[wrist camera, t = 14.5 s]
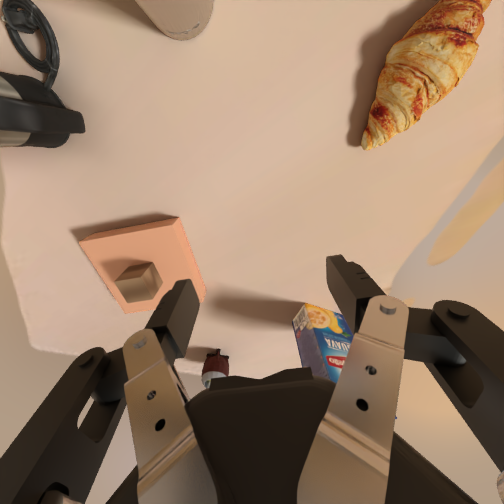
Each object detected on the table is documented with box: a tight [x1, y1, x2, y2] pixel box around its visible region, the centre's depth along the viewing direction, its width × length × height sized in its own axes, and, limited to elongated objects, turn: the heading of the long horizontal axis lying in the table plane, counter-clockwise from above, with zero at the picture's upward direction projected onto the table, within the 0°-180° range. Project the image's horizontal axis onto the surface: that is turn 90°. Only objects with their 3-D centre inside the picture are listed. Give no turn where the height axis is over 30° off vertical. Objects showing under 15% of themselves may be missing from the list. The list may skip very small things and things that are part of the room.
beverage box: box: [292, 303, 397, 419], centre depth 43 cm, size 7×11×22 cm, turn 68°
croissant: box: [361, 0, 491, 150], centre depth 28 cm, size 21×10×8 cm, turn 154°
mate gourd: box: [202, 349, 229, 389], centre depth 53 cm, size 8×8×15 cm
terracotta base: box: [79, 217, 206, 314], centre depth 43 cm, size 18×18×4 cm
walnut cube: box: [114, 262, 163, 303], centre depth 39 cm, size 5×5×5 cm
